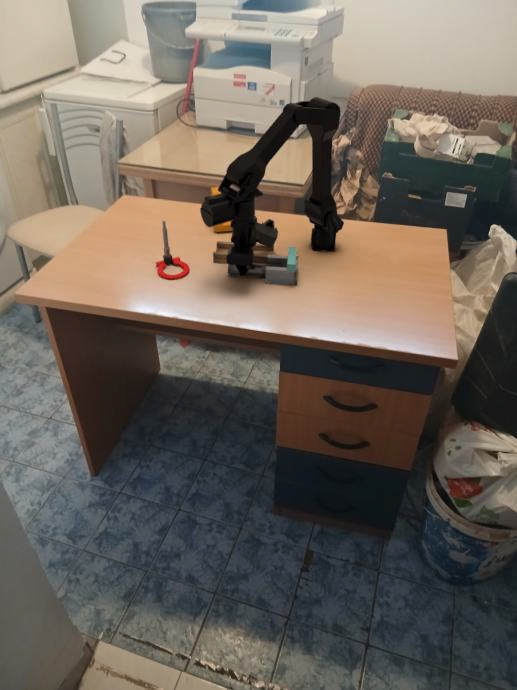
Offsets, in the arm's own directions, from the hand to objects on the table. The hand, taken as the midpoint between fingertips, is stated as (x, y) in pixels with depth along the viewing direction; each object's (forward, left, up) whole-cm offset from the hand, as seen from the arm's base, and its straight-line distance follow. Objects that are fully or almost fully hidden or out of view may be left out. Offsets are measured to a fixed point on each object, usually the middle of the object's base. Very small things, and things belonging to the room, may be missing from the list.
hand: (243, 271), depth 133 cm
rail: (+1, -9, -1) cm, 9 cm away
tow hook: (+19, 0, -1) cm, 19 cm away
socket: (-10, 0, -1) cm, 10 cm away
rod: (-3, 0, -1) cm, 3 cm away
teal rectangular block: (-12, 0, +3) cm, 13 cm away
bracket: (+9, -28, -1) cm, 29 cm away
